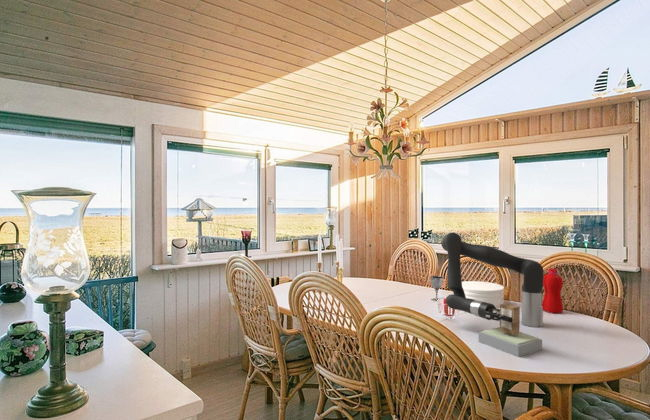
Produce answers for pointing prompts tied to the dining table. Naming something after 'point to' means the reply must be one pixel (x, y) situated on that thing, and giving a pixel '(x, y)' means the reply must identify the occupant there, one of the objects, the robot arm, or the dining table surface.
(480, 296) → the plate stack
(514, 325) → the frame
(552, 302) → the water bottle
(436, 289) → the wine glass
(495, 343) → the display stand
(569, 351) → the dining table surface
